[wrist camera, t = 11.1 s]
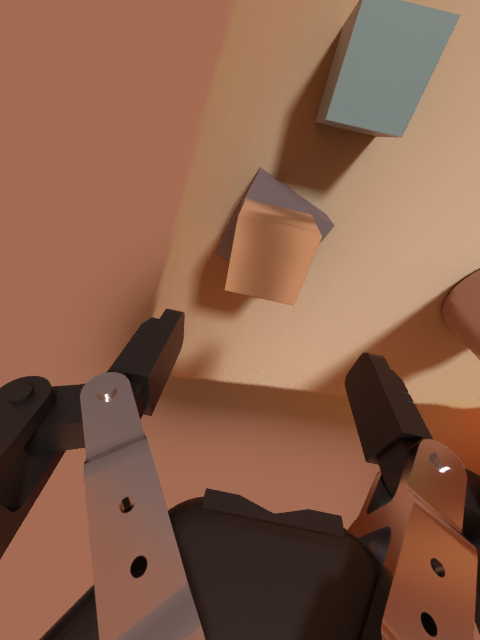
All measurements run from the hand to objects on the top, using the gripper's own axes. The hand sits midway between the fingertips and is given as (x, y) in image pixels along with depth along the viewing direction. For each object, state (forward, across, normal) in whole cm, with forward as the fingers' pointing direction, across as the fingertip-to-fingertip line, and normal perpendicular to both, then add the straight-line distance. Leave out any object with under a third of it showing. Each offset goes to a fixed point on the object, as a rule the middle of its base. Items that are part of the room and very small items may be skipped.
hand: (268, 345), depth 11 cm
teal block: (+17, -4, -11) cm, 21 cm away
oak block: (+13, 0, 0) cm, 13 cm away
